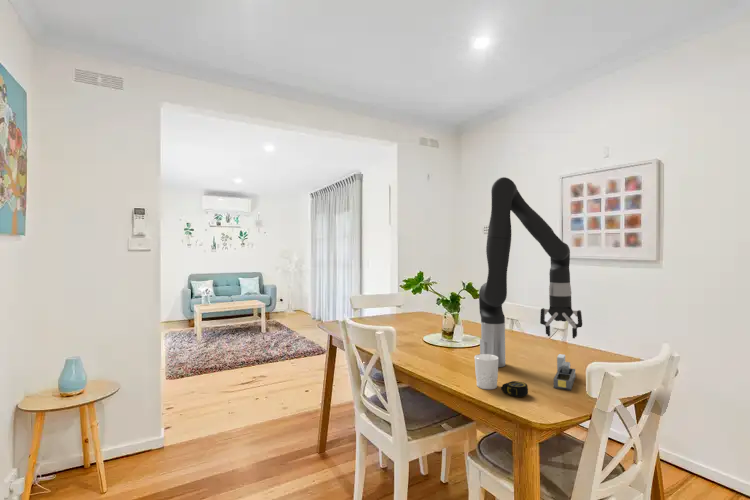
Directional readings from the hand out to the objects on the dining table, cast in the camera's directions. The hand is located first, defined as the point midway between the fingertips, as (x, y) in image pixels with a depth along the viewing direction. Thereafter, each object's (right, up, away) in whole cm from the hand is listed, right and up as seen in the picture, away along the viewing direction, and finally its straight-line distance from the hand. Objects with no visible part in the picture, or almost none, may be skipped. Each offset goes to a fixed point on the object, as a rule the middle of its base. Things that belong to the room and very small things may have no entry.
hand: (561, 336), depth 145 cm
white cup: (-32, -14, -14) cm, 38 cm away
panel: (0, -13, 0) cm, 13 cm away
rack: (-4, -13, -12) cm, 18 cm away
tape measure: (-26, -14, -21) cm, 36 cm away
